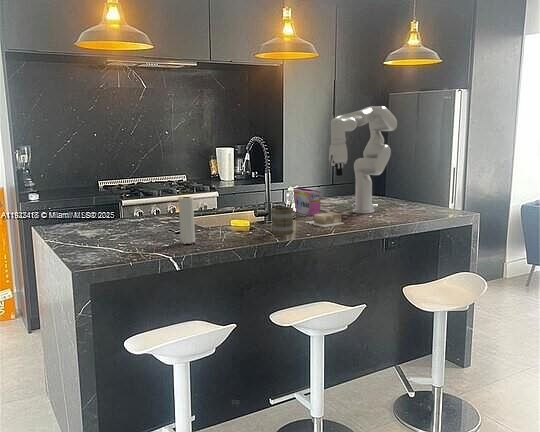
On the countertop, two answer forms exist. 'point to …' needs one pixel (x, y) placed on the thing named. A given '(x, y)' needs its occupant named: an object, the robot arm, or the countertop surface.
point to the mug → (282, 220)
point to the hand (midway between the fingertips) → (339, 175)
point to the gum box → (307, 201)
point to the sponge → (327, 218)
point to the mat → (325, 224)
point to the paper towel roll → (186, 219)
